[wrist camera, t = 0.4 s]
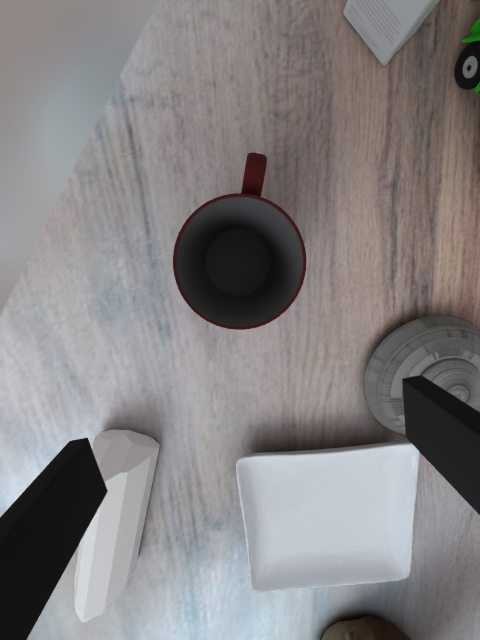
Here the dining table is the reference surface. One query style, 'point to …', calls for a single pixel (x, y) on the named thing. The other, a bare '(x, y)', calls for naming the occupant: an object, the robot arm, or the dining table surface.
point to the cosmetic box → (387, 23)
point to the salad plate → (328, 515)
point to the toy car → (470, 61)
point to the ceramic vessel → (364, 630)
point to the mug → (240, 256)
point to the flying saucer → (423, 365)
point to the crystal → (115, 520)
